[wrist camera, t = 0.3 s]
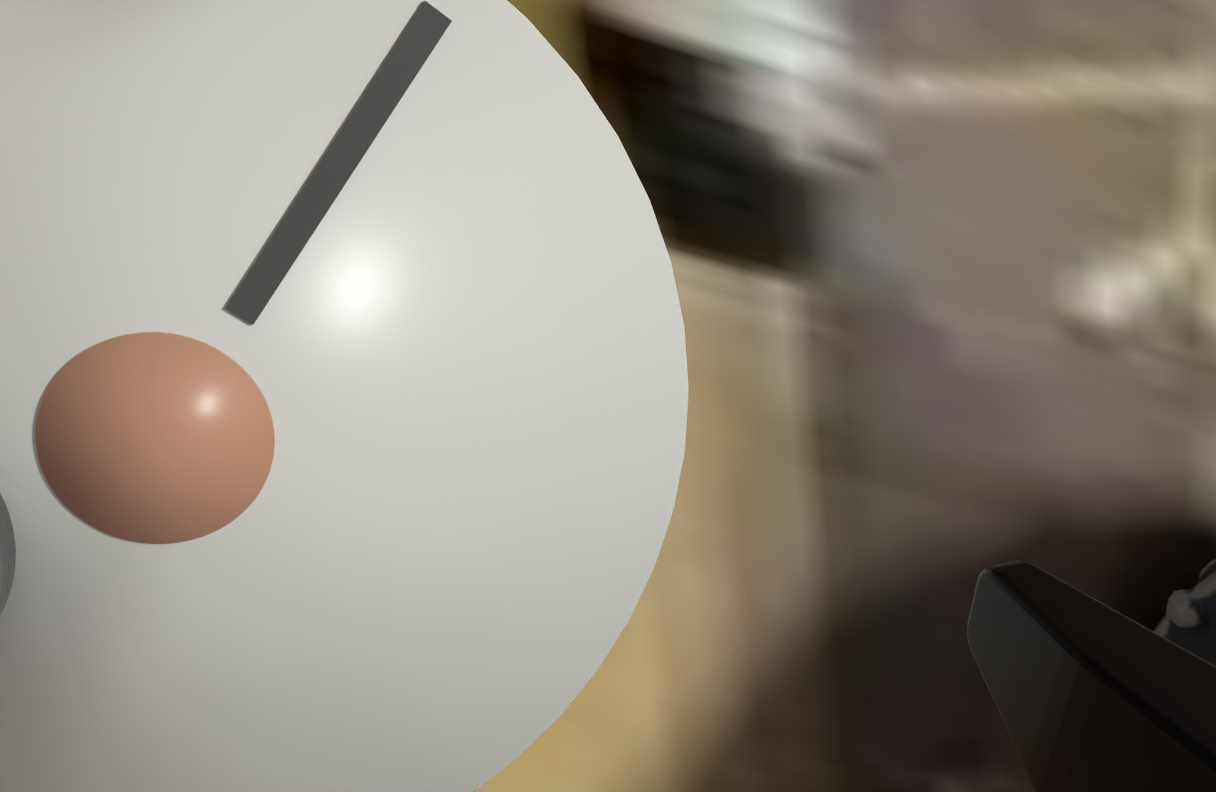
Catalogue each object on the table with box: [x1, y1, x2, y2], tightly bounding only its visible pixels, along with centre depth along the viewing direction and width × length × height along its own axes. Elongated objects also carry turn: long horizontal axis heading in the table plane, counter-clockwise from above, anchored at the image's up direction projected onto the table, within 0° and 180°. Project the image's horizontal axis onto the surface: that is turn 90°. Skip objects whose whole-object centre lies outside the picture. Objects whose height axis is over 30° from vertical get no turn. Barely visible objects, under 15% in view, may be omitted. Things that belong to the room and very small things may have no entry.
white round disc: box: [0, 0, 689, 792], centre depth 21 cm, size 22×22×1 cm
